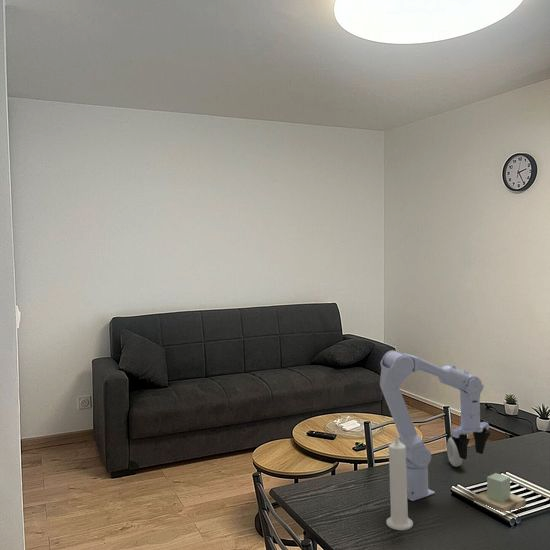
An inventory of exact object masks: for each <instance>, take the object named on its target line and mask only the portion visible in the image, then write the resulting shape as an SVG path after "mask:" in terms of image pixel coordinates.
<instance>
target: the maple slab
mask: <svg viewBox="0 0 550 550" xmlns="http://www.w3.org/2000/svg"><path fill="white" fill-rule="evenodd" d="M472 497H473V499H472V500H473V501H476V502H479V503H481V504H484V505H487V506H489V507H491V508H493V509H495V510H498V511H500V512H505V511H511V510H515V509H519V508H521V507H524V506H526V505H527V501H526V498H524V497H521V496H519V495H517V494H514V493H512V492H510V498H509V499H508V500H506V501H504V502H499V501H496V500H493V499H490V498H488V497H487V490H485V491H481V492H480V493H477V494H473V495H472ZM526 507H527V506H526Z"/></svg>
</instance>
